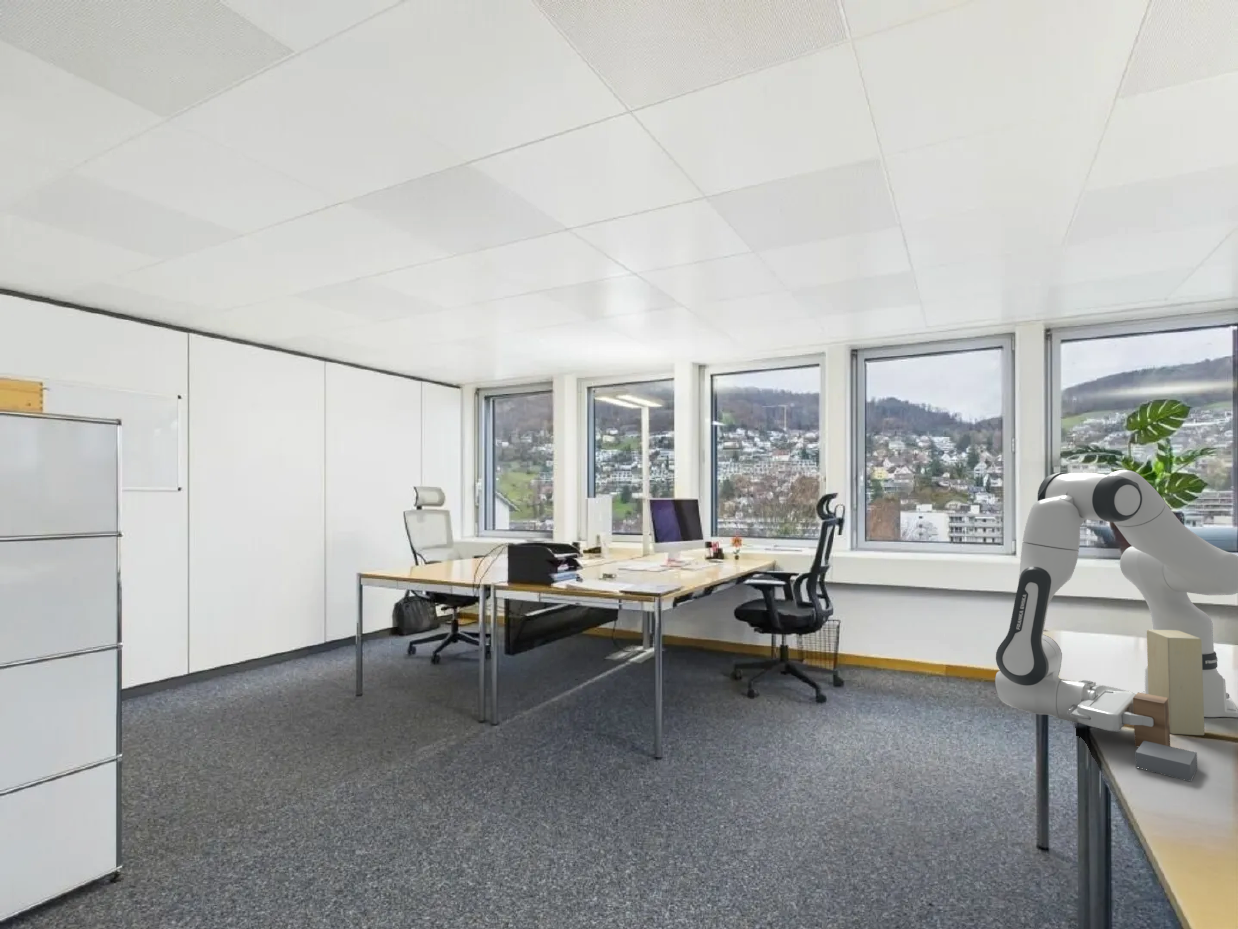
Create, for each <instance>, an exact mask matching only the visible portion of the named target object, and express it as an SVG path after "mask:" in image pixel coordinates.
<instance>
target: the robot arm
mask: <svg viewBox="0 0 1238 929" xmlns="http://www.w3.org/2000/svg"><path fill="white" fill-rule="evenodd" d="M1086 520H1088V521H1104V522H1108V523H1113V524H1114V525H1115V527H1116V528H1117V529H1118V531H1119V532H1120V533H1121V535H1122V536H1123V537H1124V539H1125V540H1126V542H1127V543H1128V544H1129V545H1130V546H1129V547H1127V548H1126V549H1125V550H1124V551H1123V552H1122V554H1121V556H1120V560H1119V568H1120V571H1121V573H1122V574H1123V576H1124V578H1125V579H1127V581H1129V582H1131V584H1133V585H1134V587H1136V589H1137V590H1138V591H1139V592H1140V594H1141V595H1142V597H1143V599H1144V600H1145V603H1146V604H1147V607H1148V609H1149V612H1150V615H1151V616H1150V617H1151V624H1152V630H1178V631H1182V632H1184V633H1187V634H1190V635H1193V636H1195V637H1198V638H1200V639H1201V640H1202V672H1203V703H1204V718H1220V717H1225V718H1226V717H1227V718H1238V709H1237V706H1236V705H1235V703H1234V701H1233V699H1232V698H1231V697H1230V694H1229V692H1227V687H1226V686H1227V685H1226V684H1227V683H1226V679H1225V678H1224V676H1222V675H1221V674H1220V673H1219V671H1218V669H1217V668H1218V662H1219V661H1218V660H1219V659H1218V656H1217V653H1216V651H1215V649H1214V648H1215V646H1214V626H1213V620H1212V619H1211V618H1210V616H1209V615H1208V614H1207V613H1206V612H1205V611H1203V610H1202V609H1200V608H1199V607H1197V606H1196V605H1195V604H1194V603H1193V602H1192V600H1191V599H1190V598H1189V594H1188V593H1190V594H1195V595H1196V594H1197V595H1203V596H1232V595H1236V594H1237V593H1238V555H1236V553H1235V554H1234V553H1231V552H1229V551H1227V550H1224V549H1221V548H1219V547H1218V546H1215V545H1213V544H1212V543H1210V542H1208V541H1207V540H1206V539H1204V538H1202V537H1201V536H1199V535H1197V534H1196V533H1194V532H1193V531H1192V530H1191V529H1189V528H1188V527H1187V526H1186V525H1185V524H1183V522H1181V521H1180V520H1179V519H1178V517H1177V516H1176V514H1175V513H1174V512H1173V511H1172V509H1171V508H1170V507H1169V504H1167V502H1166V501H1165V500H1164V499H1163V497H1162V496H1161V495H1160V493H1159V492H1158V491H1157V490H1156V489H1155V488H1154V486H1152V485H1151V484H1150V483H1149V482H1148V481H1147V480H1146V478H1144V477H1143V476H1142V475H1140V474H1139V473H1138V472H1135V471H1133V470H1130V469H1129V470H1128V469H1122V470H1119V469H1118V470H1116V471H1112V472H1109V473H1108V474H1104V473H1099V472H1098V473H1097V472H1066V471H1065V472H1064V471H1063V472H1057V473H1053V474H1050V475H1048V476H1046V477H1045V478H1043V480H1042V481H1041V483H1040V485H1039V487H1038V490H1037V501H1036V502H1034V503H1033V505H1032V506H1031V509H1030V511H1029V514H1028V517H1027V519H1026V523H1025V526H1024V531H1023V532H1024V533H1023V538H1022V543H1021V545H1022V546H1021V551H1020V552H1021V553H1020V566H1019V574H1018V585H1017V589H1016V593H1015V594H1016V595H1015V598H1014V604H1013V608H1012V609H1013V610H1012V615H1011V620H1010V625H1009V628H1008V632H1007V634H1006V636H1005V638H1004V639H1003V640H1002V642H1001V643H1000V644H999V646H998V648H997V650H996V652H995V660H996V661H995V662H996V665H997V667H998V671H997V672H996V674H995V676H994V677H995V678H994V687H995V691H996V692H995V693H996V695H997V696H998V698H999V700H1000V701H1001V702H1002V703H1004V704H1005V705H1007V706H1008V707H1011V708H1014V709H1017V710H1020V711H1024V712H1027V713H1030V714H1031V713H1032V714H1036V715H1049V716H1052V717H1054V718H1056V719H1059V720H1064V721H1068V722H1072V723H1077V724H1082V725H1085V726H1088V727H1091V728H1094V729H1095V728H1096V729H1100V730H1103V731H1108V732H1114V733H1115V732H1117V733H1118V732H1119V731H1121V729H1123V727H1124V726H1125V725H1130V726H1134V725H1145V726H1150V727H1152V726H1153V725H1154V717H1152V716H1148V715H1143V716H1142V715H1136V714H1134V709H1133V697H1134V696H1135V695H1136V694H1137V693H1135V692H1133V691H1130V690H1126V689H1121V688H1118V687H1114V686H1108V685H1103V684H1097V683H1096V681H1094V680H1088V679H1084V680H1079V681H1078V680H1069V679H1065V678H1060V677H1059V675H1060V671H1061V667H1062V661H1063V653H1062V649H1061V648H1060V645H1059V644H1058V643H1057V642H1056V641H1055V640H1054V639H1053V638H1051V637H1049V636H1048V635H1046V634H1044V629H1045V624H1046V620H1047V619H1046V618H1047V614H1048V609H1049V605H1050V603H1051V602H1052V599H1053V597H1054V596H1055V594H1057V592H1058V591H1059V590H1060V589H1061V588H1062V587H1063V586H1064V585H1065V584H1066V583H1067V582H1069V580H1071V579H1072V576H1073V574H1074V571H1075V569H1076V565H1077V562H1078V558H1079V552H1080V542H1081V527H1082V525H1083V524H1084V522H1085V521H1086ZM1140 693H1145V694H1148V665H1147V666H1145V667H1144V691H1141V692H1140Z"/></svg>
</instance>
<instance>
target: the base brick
mask: <svg viewBox="0 0 1238 929" xmlns="http://www.w3.org/2000/svg"><path fill="white" fill-rule="evenodd" d="M1197 753H1198V752H1196V751H1192V750H1187V749H1183V748H1178V747H1174V746H1171V745H1170V746H1166V745H1162V744H1157V743H1153V742H1148V741H1143V742H1142V744H1141V745H1140V746H1139V747H1137V749H1136V750H1135V752H1134V754H1135V768H1136V767H1139V768H1143V769H1145V770H1144V771H1147V770H1149V771H1148V772H1151V771H1153V772H1152V773H1155V772H1156V774H1159V773H1162V774H1161V775H1163V774H1165V775H1164V776H1167V775H1168V777H1171V776H1172V777H1171V778H1176V779H1180V780H1183V779H1185V780H1184V781H1187V780H1188V781H1187V782H1191V781H1192V780H1193V777H1194V776H1195V774H1196V772H1197V769H1198V754H1197ZM1139 768H1138V769H1139ZM1143 769H1142V770H1143ZM1146 769H1147V770H1146Z"/></svg>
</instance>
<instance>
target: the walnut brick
mask: <svg viewBox="0 0 1238 929" xmlns="http://www.w3.org/2000/svg"><path fill="white" fill-rule="evenodd" d="M1135 694H1136V695H1135V696H1134V697H1133V709H1134V714H1136V715H1142V716H1143V715H1148V716H1152V717H1154V725H1153V726H1152V727H1150V726H1145V725H1133V729H1134V730H1133V732H1134V733H1133V734H1134V747H1137V746H1140V745H1141V744H1142V742H1143V741H1148V742H1153V743H1157V744H1162V745H1166V746H1171V733H1170V724H1169V701H1168V698H1167V697H1161V696H1156V695H1150V694H1145V693H1141V692H1137V693H1135Z"/></svg>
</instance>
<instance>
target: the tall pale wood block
mask: <svg viewBox="0 0 1238 929" xmlns="http://www.w3.org/2000/svg"><path fill="white" fill-rule="evenodd" d="M1146 645H1147V646H1146V653H1147V666H1148V694H1150V695H1156V696H1161V697H1167V698H1168V701H1169V724H1170V735H1171V734H1172V735H1173V734H1174V735H1188V736H1189V735H1191V736H1204V735H1205V717H1204V703H1203V672H1202V640H1201V639H1200V638H1198V637H1195V636H1193V635H1190V634H1187V633H1184V632H1182V631H1178V630H1153V629H1147V630H1146Z"/></svg>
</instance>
